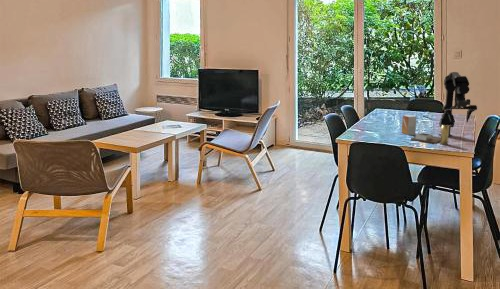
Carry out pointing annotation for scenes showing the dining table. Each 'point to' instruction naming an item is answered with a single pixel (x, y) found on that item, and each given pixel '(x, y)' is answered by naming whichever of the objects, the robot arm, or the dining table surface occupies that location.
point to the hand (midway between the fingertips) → (459, 121)
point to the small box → (409, 124)
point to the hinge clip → (424, 136)
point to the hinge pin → (444, 135)
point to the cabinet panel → (432, 141)
